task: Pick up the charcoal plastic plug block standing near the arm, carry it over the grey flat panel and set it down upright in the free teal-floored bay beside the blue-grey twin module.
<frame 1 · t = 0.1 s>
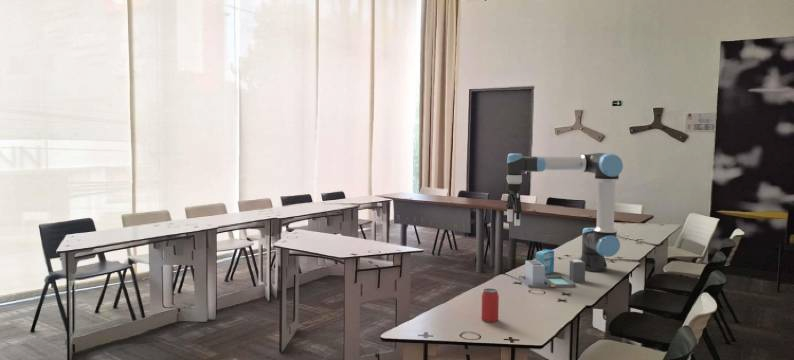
hand: (513, 223, 276), 28 cm above the table, fingers open, 13 cm apart
data package: (544, 273, 285), on the table
beer can: (489, 320, 210), on the table
grey flat panel: (546, 283, 265), on the table
twin module: (534, 282, 264), resting on grey flat panel
plug: (577, 281, 269), on the table
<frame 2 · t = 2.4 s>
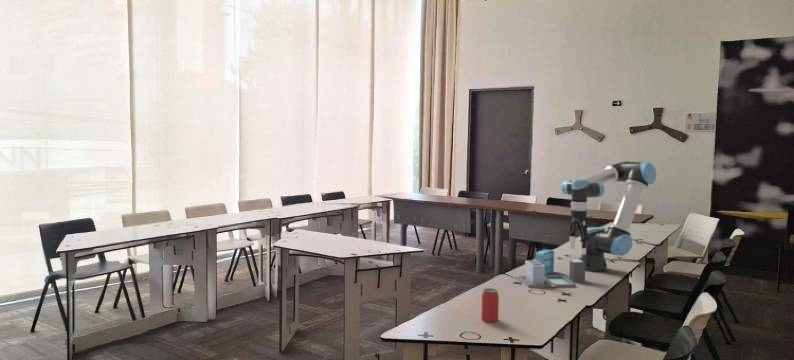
hand: (577, 251, 267), 15 cm above the table, fingers open, 13 cm apart
nothing on the table moved.
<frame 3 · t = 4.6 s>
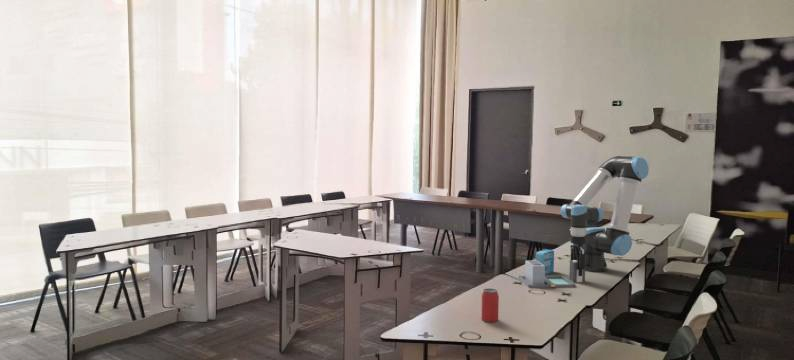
hand: (577, 280, 268), 0 cm above the table, fingers closed on plug, 5 cm apart
plug: (577, 281, 269), on the table, touching gripper
everything else where it was.
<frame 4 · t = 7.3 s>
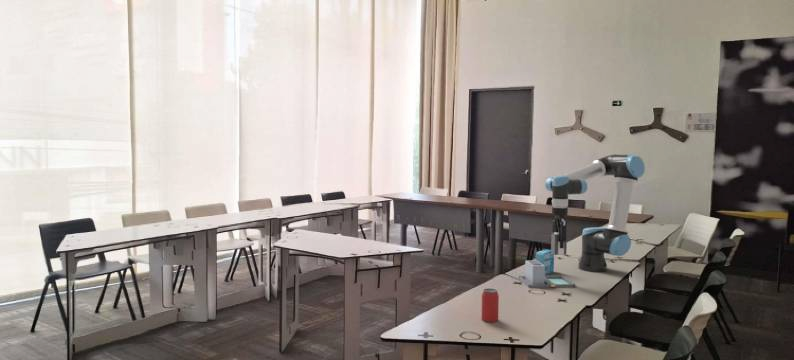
hand: (558, 253, 264), 15 cm above the table, fingers closed on plug, 5 cm apart
plug: (558, 253, 264), point 15 cm above the table, touching gripper
everything else where it was.
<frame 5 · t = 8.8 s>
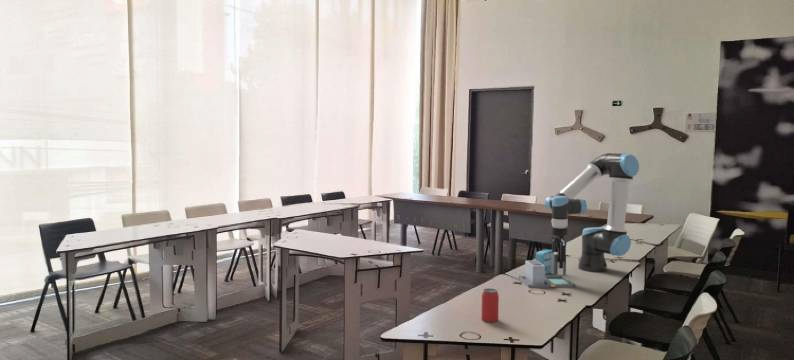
hand: (558, 272, 264), 5 cm above the table, fingers closed on plug, 5 cm apart
plug: (557, 273, 264), point 5 cm above the table, touching gripper
everything else where it was.
when the fingers open (2 cm above the table, at t = 10.1 s): plug drops 2 cm, resting on grey flat panel.
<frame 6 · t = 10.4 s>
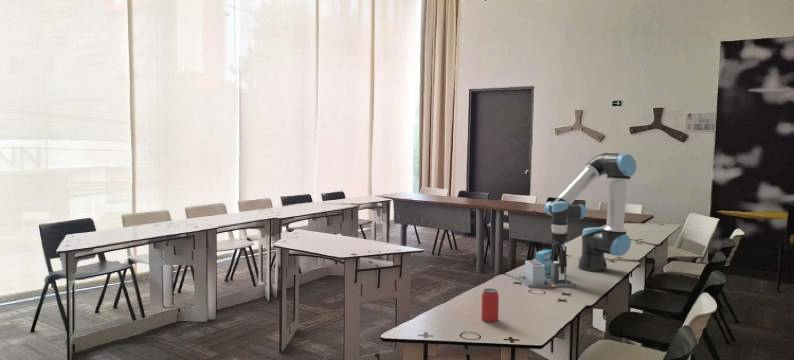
hand: (558, 277, 265), 3 cm above the table, fingers open, 8 cm apart
plug: (558, 282, 265), resting on grey flat panel
everything else where it was.
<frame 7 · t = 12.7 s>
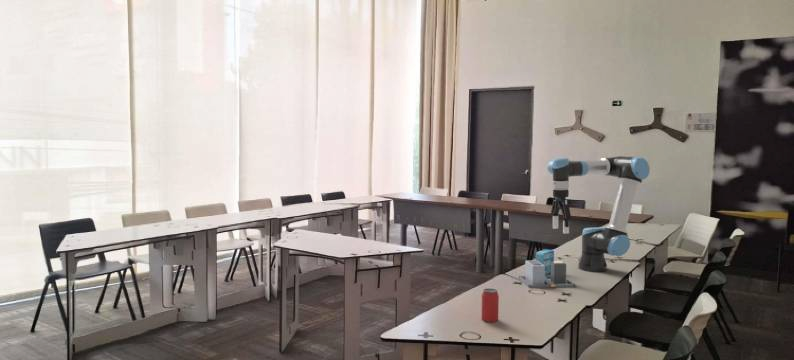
hand: (560, 231, 266), 26 cm above the table, fingers open, 13 cm apart
nothing on the table moved.
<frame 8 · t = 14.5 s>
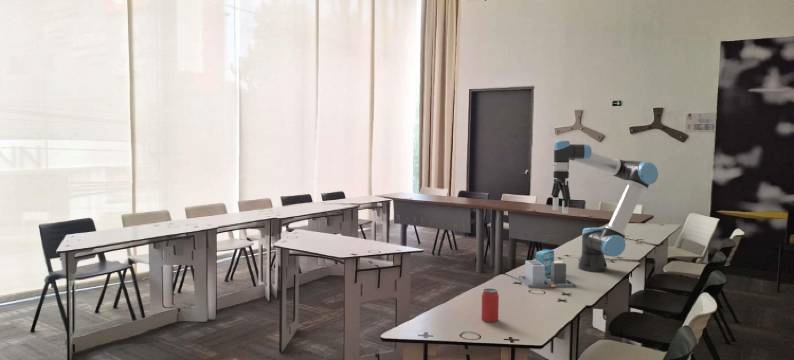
hand: (560, 211, 272), 35 cm above the table, fingers open, 13 cm apart
nothing on the table moved.
at the end: plug inside the target area on the grey flat panel (0.0 cm from its centre), point 0.2 cm above the grey flat panel's base; plug tilted 0°; the gripper is holding nothing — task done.
